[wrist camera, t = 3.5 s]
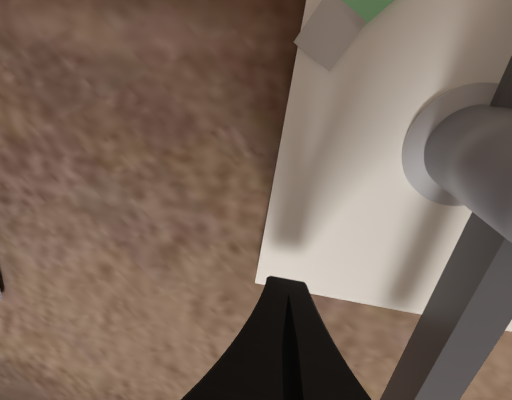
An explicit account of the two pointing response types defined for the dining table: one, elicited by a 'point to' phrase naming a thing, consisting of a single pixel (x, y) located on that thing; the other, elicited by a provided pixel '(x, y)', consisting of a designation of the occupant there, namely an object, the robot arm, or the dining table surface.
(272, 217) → the board
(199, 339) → the dining table surface
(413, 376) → the grey dial pointer
